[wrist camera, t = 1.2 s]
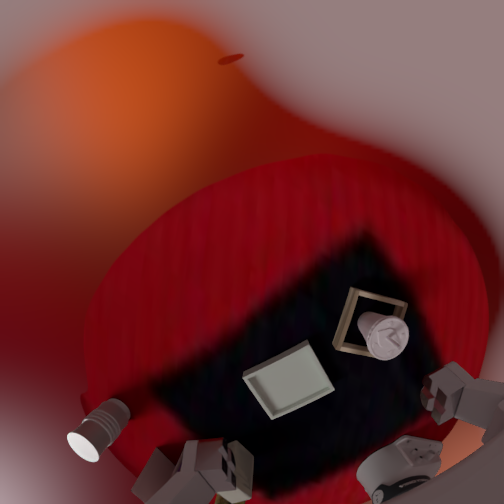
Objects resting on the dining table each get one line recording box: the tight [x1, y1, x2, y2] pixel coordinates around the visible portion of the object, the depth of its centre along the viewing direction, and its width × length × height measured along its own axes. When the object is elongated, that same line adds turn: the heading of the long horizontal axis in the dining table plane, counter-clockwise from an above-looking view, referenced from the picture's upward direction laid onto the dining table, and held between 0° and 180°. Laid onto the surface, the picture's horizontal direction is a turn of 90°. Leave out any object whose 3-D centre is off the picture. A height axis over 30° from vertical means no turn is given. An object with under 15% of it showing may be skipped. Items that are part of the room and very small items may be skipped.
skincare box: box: [216, 440, 254, 504], centre depth 39 cm, size 6×4×12 cm
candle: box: [67, 399, 130, 462], centre depth 39 cm, size 7×7×15 cm
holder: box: [332, 287, 408, 358], centre depth 42 cm, size 10×10×3 cm
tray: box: [242, 340, 335, 420], centre depth 43 cm, size 12×10×2 cm
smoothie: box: [358, 312, 409, 360], centre depth 36 cm, size 6×6×14 cm
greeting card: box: [131, 447, 184, 503], centre depth 39 cm, size 11×7×15 cm, turn 178°
